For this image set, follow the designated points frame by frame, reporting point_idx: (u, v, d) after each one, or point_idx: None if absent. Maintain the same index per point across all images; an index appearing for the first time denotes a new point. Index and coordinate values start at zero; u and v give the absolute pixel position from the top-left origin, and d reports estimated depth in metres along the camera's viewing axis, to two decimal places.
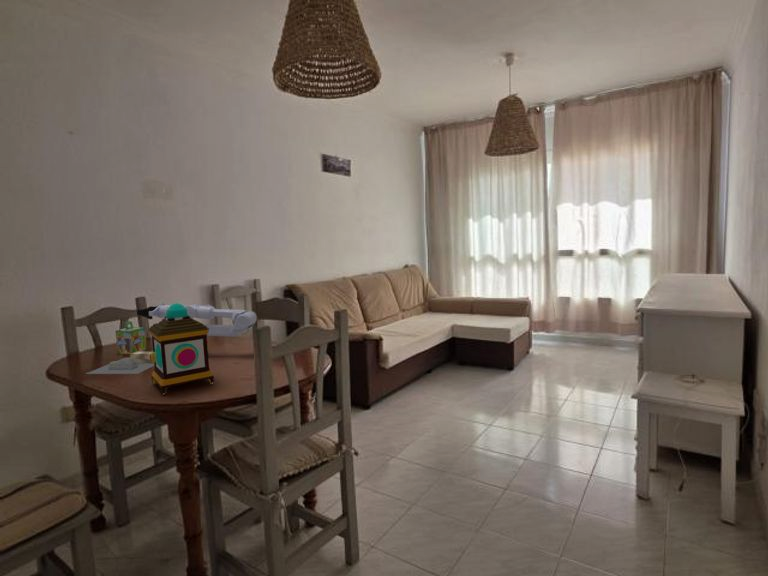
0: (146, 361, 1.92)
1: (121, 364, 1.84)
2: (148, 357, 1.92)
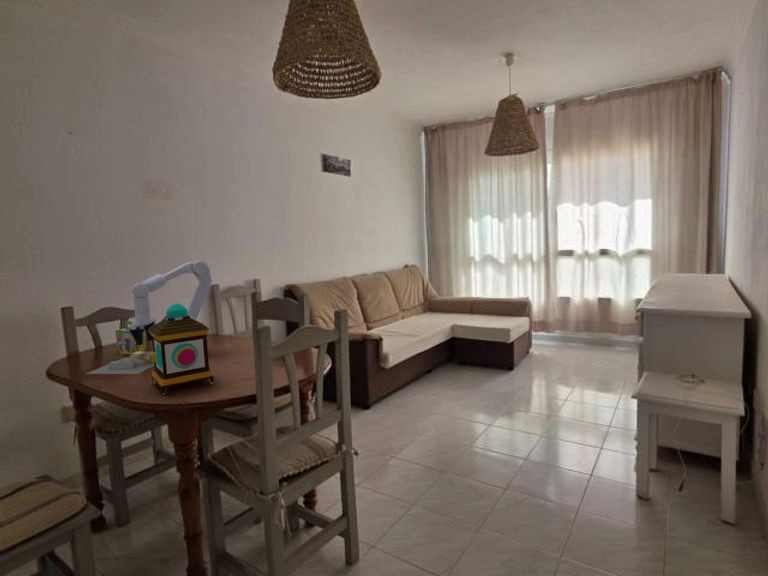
0: (146, 361, 1.92)
1: (121, 364, 1.84)
2: (148, 357, 1.92)
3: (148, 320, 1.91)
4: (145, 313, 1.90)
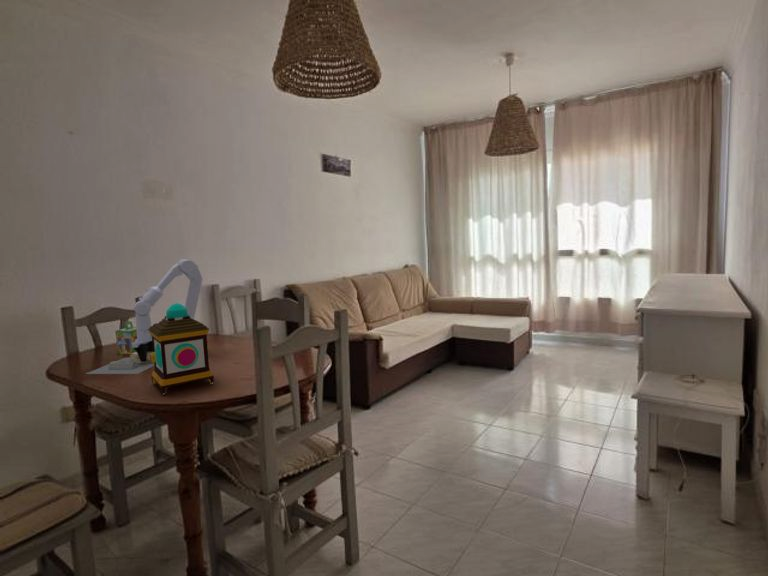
0: (146, 361, 1.92)
1: (121, 364, 1.84)
2: (148, 357, 1.92)
3: (150, 338, 1.92)
4: (147, 331, 1.91)
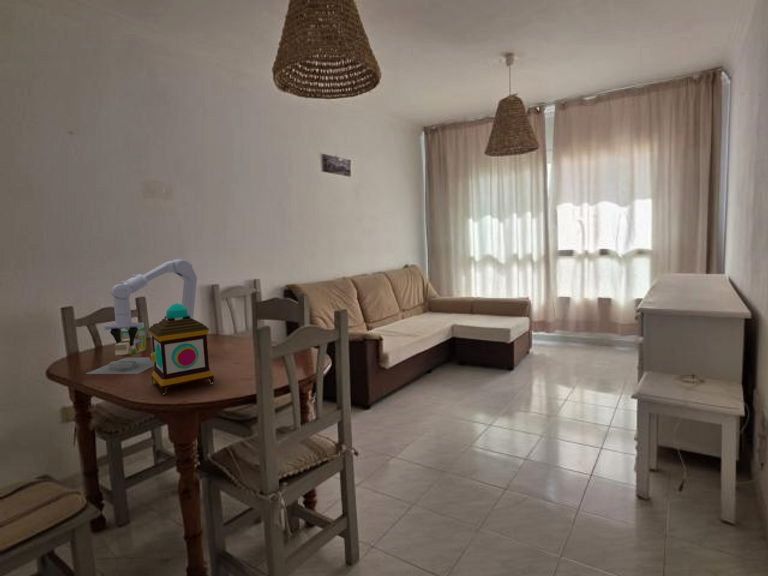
0: None
1: (121, 364, 1.84)
2: None
3: (119, 324, 1.82)
4: (116, 316, 1.82)
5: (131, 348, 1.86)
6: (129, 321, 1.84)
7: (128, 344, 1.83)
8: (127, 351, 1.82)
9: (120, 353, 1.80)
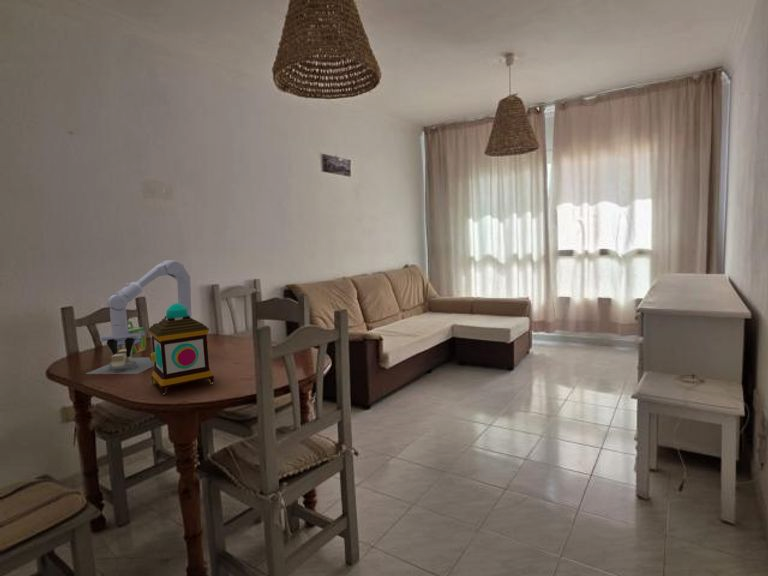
0: None
1: None
2: None
3: (116, 335, 1.81)
4: (113, 327, 1.80)
5: (128, 359, 1.85)
6: (126, 332, 1.83)
7: (125, 355, 1.82)
8: (124, 362, 1.80)
9: (117, 364, 1.79)
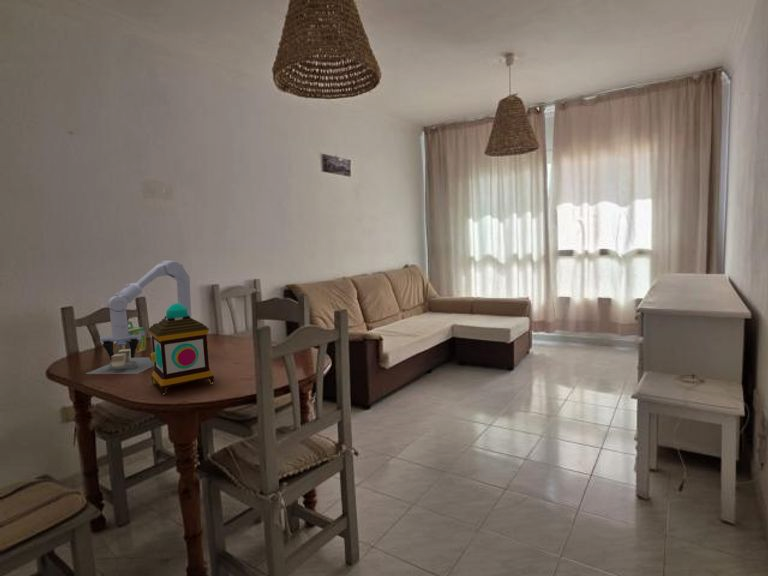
0: None
1: None
2: None
3: (116, 336, 1.81)
4: (113, 328, 1.81)
5: (128, 359, 1.85)
6: (126, 333, 1.83)
7: (125, 355, 1.82)
8: (124, 362, 1.80)
9: (117, 364, 1.79)
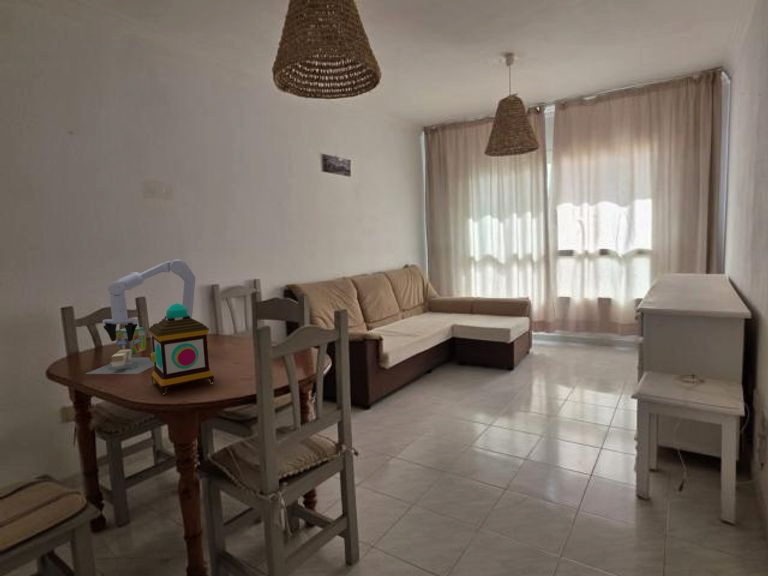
0: None
1: None
2: None
3: (114, 319, 1.88)
4: (111, 311, 1.88)
5: (128, 359, 1.85)
6: (123, 317, 1.89)
7: (125, 355, 1.82)
8: (124, 362, 1.80)
9: (117, 364, 1.79)
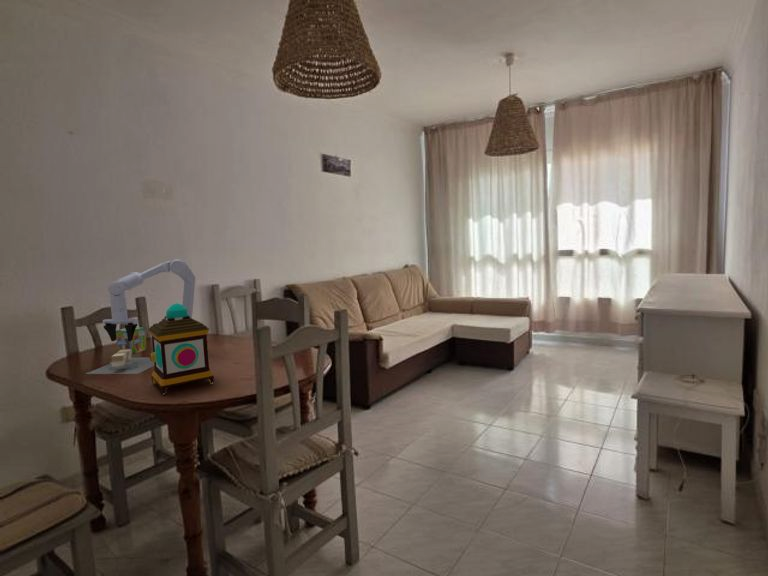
0: None
1: None
2: None
3: (114, 319, 1.88)
4: (111, 311, 1.88)
5: (128, 359, 1.85)
6: (123, 317, 1.89)
7: (125, 355, 1.82)
8: (124, 362, 1.80)
9: (117, 364, 1.79)
